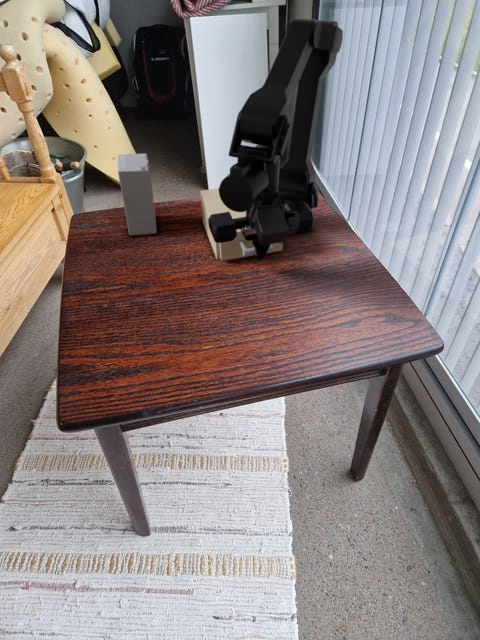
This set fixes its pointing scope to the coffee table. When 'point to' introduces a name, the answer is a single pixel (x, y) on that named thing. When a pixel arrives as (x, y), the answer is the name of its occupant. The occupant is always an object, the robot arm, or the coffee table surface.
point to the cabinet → (214, 205)
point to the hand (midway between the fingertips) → (260, 259)
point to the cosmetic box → (137, 193)
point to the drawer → (242, 248)
